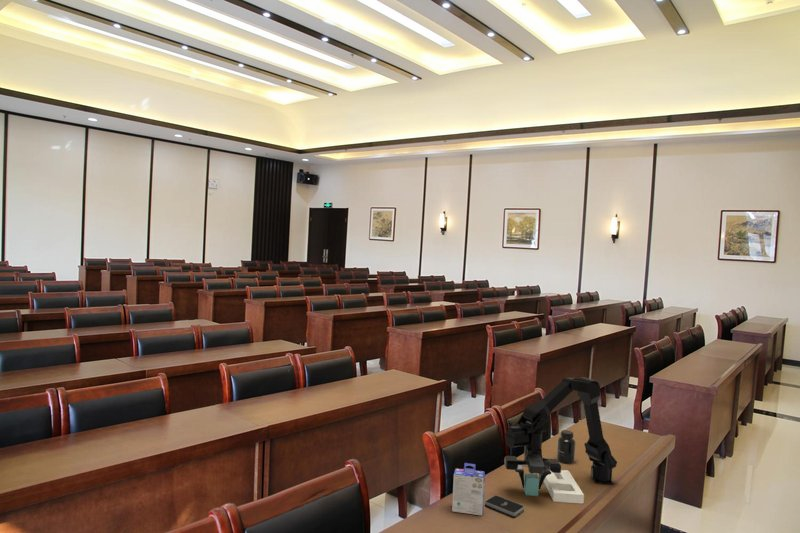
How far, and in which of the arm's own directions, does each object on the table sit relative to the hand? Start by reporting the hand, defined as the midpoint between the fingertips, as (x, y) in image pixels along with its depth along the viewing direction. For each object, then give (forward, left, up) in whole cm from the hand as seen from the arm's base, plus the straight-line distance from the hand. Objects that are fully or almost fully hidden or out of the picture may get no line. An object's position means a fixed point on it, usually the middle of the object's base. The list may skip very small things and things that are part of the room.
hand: (531, 488), depth 178 cm
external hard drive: (+11, +13, -2) cm, 17 cm away
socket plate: (-11, -4, -2) cm, 12 cm away
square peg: (0, 0, -2) cm, 2 cm away
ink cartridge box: (+23, +16, -2) cm, 28 cm away
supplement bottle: (-20, -32, -2) cm, 38 cm away
